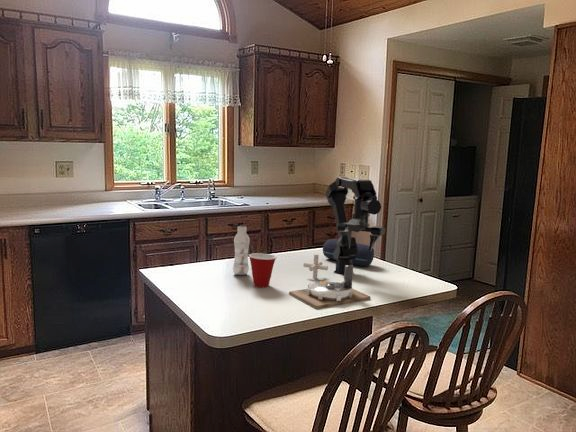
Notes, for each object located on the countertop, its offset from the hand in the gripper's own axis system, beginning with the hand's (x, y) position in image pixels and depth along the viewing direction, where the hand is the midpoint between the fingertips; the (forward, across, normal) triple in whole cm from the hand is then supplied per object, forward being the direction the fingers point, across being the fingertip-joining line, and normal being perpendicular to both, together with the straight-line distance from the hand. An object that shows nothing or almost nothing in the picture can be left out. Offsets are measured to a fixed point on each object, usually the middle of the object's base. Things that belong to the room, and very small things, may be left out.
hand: (359, 249), depth 194 cm
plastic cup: (+13, -27, -29) cm, 42 cm away
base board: (+14, 0, -25) cm, 28 cm away
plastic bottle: (+13, -42, -23) cm, 49 cm away
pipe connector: (+13, -16, -8) cm, 22 cm away
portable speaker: (+13, -16, +26) cm, 33 cm away
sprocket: (+12, 0, -25) cm, 28 cm away
